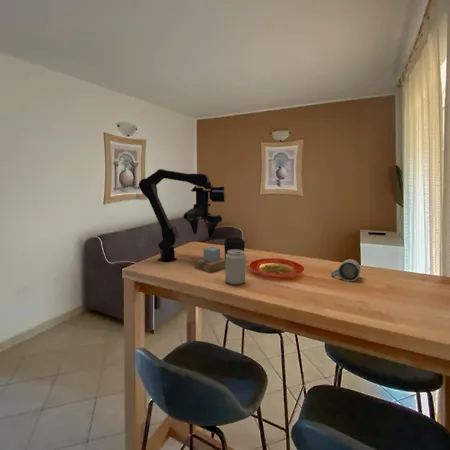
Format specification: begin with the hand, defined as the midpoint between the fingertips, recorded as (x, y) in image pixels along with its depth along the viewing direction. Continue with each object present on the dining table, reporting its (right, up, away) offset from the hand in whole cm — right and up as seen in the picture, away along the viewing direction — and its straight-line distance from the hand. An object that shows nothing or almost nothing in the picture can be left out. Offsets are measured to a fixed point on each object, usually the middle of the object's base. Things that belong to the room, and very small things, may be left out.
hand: (202, 235), depth 139 cm
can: (+14, -17, -24) cm, 33 cm away
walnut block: (+5, -14, -8) cm, 17 cm away
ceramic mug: (+58, -16, -19) cm, 63 cm away
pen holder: (+15, -12, +3) cm, 19 cm away
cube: (+5, -10, -9) cm, 14 cm away
